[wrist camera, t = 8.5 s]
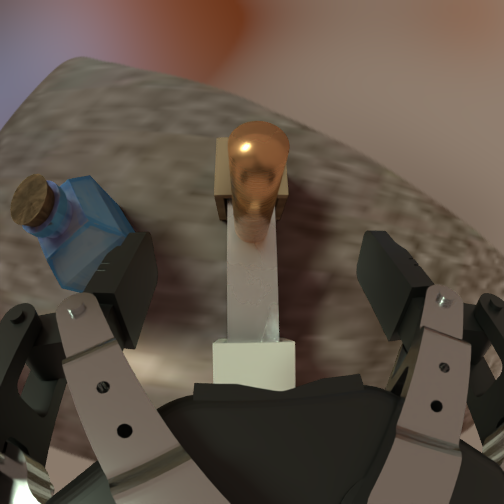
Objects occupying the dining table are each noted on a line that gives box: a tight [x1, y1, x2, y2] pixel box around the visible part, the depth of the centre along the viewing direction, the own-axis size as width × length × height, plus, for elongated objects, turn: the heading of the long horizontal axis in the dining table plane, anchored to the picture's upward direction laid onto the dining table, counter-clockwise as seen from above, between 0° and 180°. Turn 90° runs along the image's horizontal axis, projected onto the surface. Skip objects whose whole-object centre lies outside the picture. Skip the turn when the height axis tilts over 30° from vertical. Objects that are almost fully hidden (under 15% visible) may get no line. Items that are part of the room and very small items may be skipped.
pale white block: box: [213, 338, 295, 391], centre depth 19 cm, size 5×9×5 cm, turn 1°
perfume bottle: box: [10, 174, 135, 293], centre depth 18 cm, size 6×6×12 cm
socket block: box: [214, 137, 288, 220], centre depth 23 cm, size 5×5×5 cm
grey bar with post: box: [227, 121, 289, 343], centre depth 16 cm, size 3×16×13 cm, turn 1°
